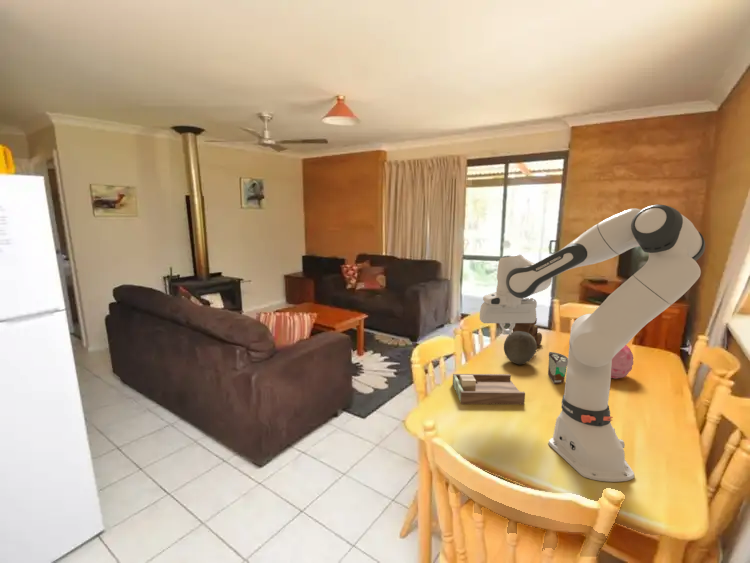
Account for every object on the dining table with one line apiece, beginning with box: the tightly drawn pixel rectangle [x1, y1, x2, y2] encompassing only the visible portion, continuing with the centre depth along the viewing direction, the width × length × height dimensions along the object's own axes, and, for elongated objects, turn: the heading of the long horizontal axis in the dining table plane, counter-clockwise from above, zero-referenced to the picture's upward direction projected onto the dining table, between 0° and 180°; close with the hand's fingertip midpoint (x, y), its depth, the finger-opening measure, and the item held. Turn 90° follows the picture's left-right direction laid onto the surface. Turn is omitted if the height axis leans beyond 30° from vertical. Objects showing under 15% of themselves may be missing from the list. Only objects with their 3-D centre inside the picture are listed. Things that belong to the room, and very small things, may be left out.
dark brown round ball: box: [503, 331, 538, 365], centre depth 169 cm, size 14×14×15 cm
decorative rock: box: [611, 344, 634, 379], centre depth 156 cm, size 19×14×15 cm
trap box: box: [452, 373, 526, 405], centre depth 140 cm, size 16×23×4 cm
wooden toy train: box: [512, 317, 543, 346], centre depth 191 cm, size 20×11×17 cm, turn 137°
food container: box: [547, 351, 568, 385], centre depth 151 cm, size 12×6×10 cm, turn 168°
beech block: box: [460, 375, 476, 390], centre depth 140 cm, size 5×5×4 cm
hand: (506, 334), depth 136 cm, fingers closed
